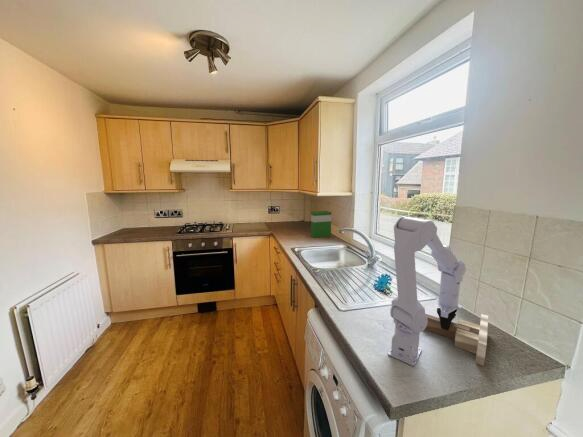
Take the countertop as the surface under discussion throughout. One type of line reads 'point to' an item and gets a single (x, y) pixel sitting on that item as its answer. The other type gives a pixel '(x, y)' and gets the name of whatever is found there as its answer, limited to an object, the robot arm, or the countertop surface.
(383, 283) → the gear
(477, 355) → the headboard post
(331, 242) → the countertop surface
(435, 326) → the bed rail
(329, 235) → the hardback book
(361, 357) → the countertop surface
